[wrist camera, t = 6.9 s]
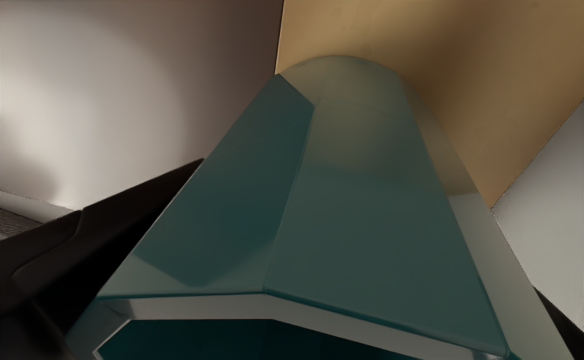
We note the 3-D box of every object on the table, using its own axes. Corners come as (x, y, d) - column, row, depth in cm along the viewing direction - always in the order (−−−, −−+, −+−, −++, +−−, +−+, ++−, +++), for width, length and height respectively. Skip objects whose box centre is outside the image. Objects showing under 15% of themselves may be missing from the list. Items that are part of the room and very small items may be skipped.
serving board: (682, -73, 7) (736, -80, 6) (410, 279, 16) (414, 299, 15) (-228, -254, 8) (-312, -287, 7) (16, 177, 17) (-4, 190, 16)
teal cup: (476, 84, 8) (879, 453, 2) (387, 235, 12) (421, 506, 6) (251, 31, 8) (-52, 205, 2) (239, 197, 13) (125, 420, 6)
